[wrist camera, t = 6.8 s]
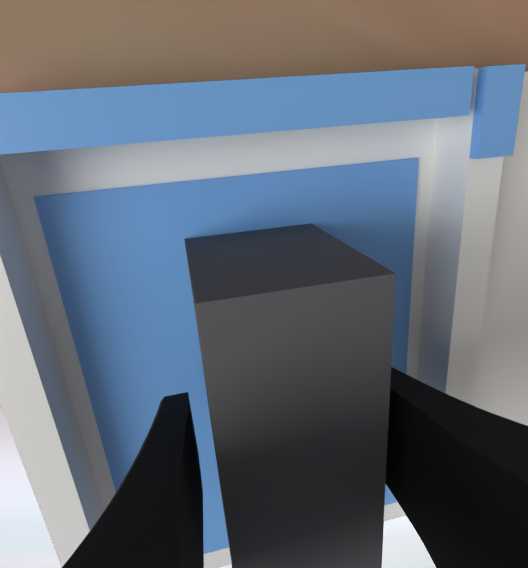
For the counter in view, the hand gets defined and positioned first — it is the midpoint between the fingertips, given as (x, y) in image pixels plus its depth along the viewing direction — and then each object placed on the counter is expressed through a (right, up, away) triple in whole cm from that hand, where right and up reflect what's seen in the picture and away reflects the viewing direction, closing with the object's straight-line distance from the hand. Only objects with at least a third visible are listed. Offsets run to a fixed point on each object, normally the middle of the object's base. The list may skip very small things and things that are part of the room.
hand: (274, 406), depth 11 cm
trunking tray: (+5, +2, +4) cm, 7 cm away
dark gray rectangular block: (0, +1, +1) cm, 2 cm away
